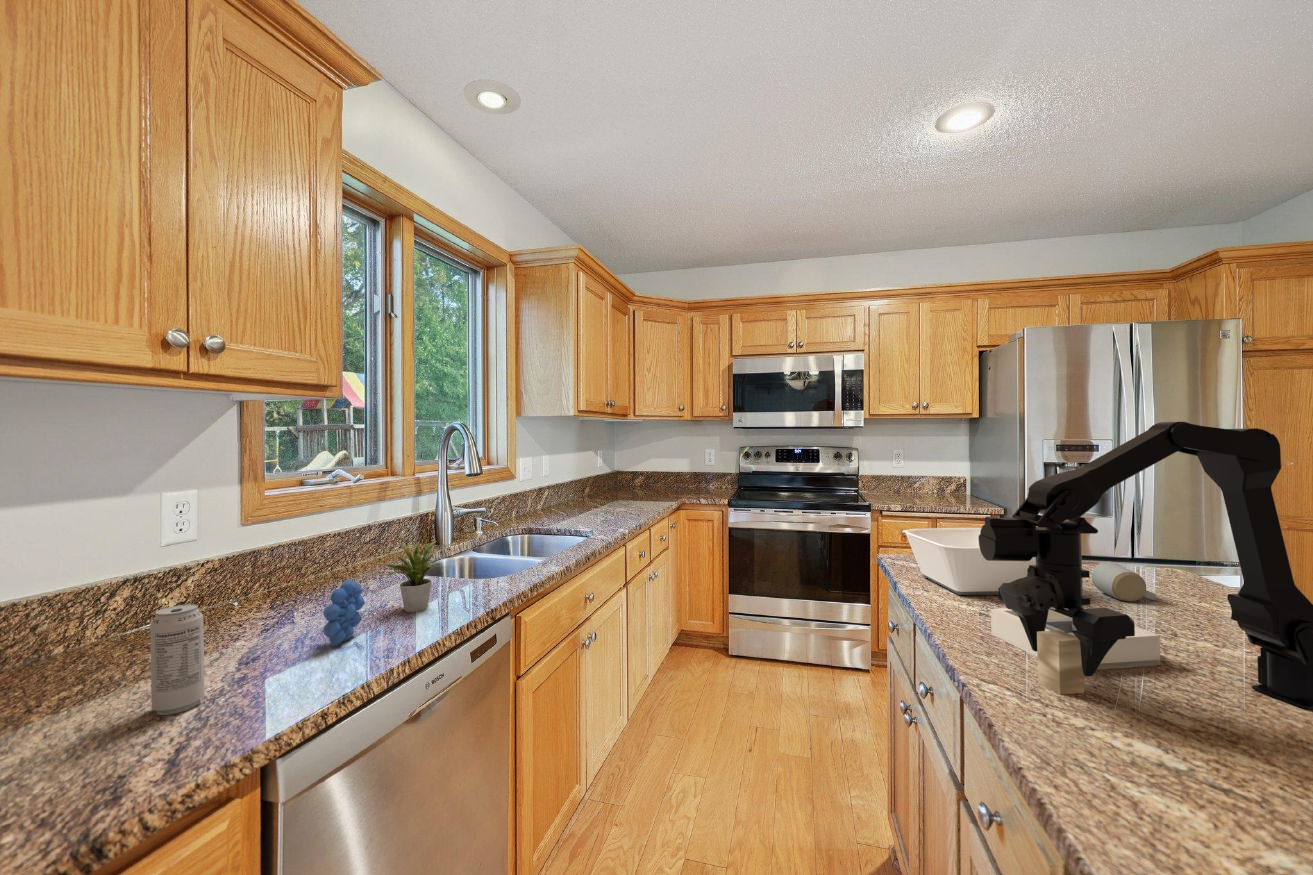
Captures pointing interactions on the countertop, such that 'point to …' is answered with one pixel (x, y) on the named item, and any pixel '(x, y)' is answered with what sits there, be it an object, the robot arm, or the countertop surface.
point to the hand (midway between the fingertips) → (1060, 662)
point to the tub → (961, 561)
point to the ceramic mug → (1120, 582)
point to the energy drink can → (177, 659)
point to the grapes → (343, 612)
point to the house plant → (414, 578)
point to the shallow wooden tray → (1121, 654)
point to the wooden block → (1060, 662)
